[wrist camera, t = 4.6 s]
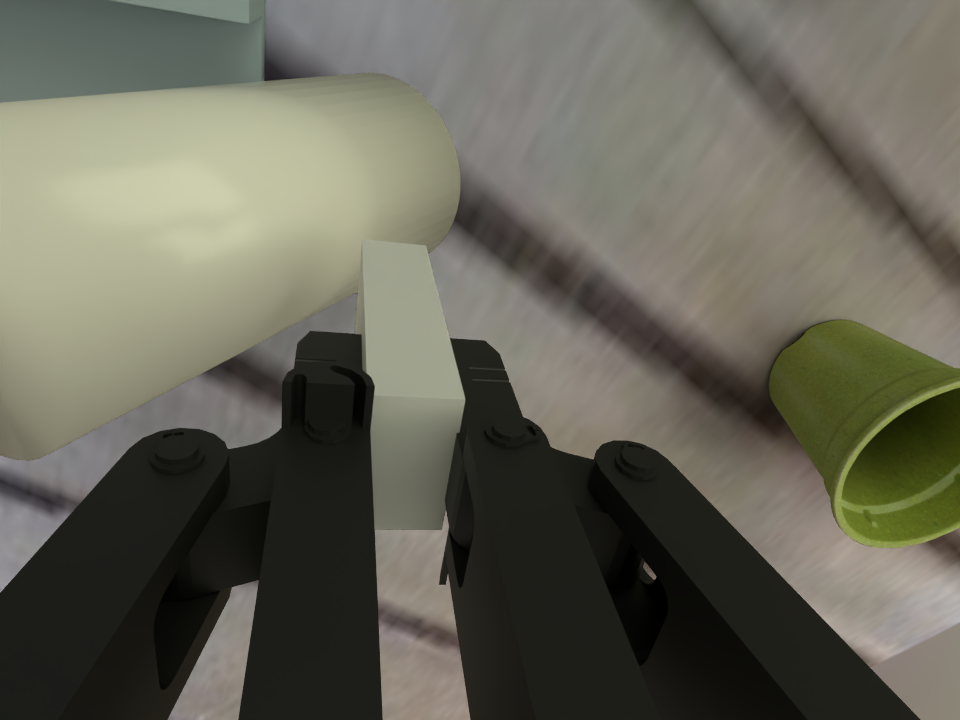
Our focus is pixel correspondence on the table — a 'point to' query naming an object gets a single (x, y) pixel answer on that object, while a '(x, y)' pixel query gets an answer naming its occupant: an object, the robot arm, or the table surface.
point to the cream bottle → (193, 231)
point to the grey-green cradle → (127, 46)
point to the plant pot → (875, 430)
